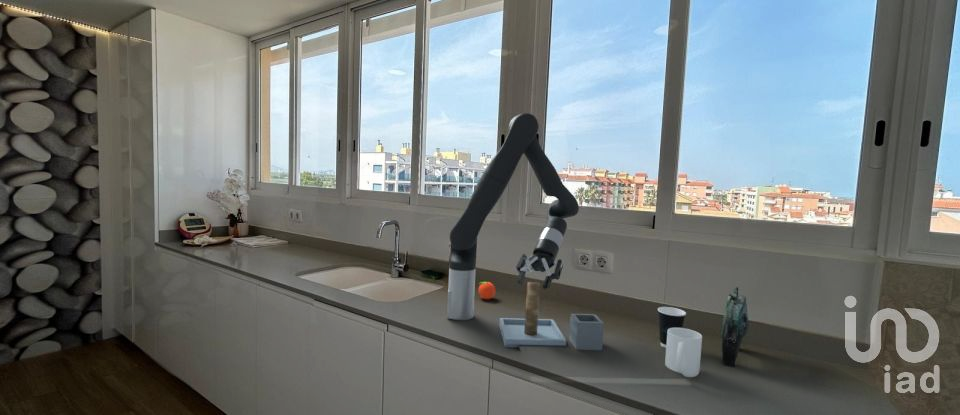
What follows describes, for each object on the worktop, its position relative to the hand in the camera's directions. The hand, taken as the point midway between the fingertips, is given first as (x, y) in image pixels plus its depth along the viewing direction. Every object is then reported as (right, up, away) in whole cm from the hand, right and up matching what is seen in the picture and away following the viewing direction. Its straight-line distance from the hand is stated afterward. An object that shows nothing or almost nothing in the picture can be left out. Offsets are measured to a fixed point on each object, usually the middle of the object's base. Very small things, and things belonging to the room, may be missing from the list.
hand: (531, 285), depth 129 cm
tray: (0, -16, +2) cm, 16 cm away
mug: (+37, -20, -19) cm, 46 cm away
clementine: (-14, -13, +40) cm, 45 cm away
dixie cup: (+42, -18, -1) cm, 46 cm away
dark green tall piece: (+58, -20, -6) cm, 62 cm away
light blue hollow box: (+15, -17, -5) cm, 24 cm away
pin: (0, -15, +2) cm, 15 cm away
